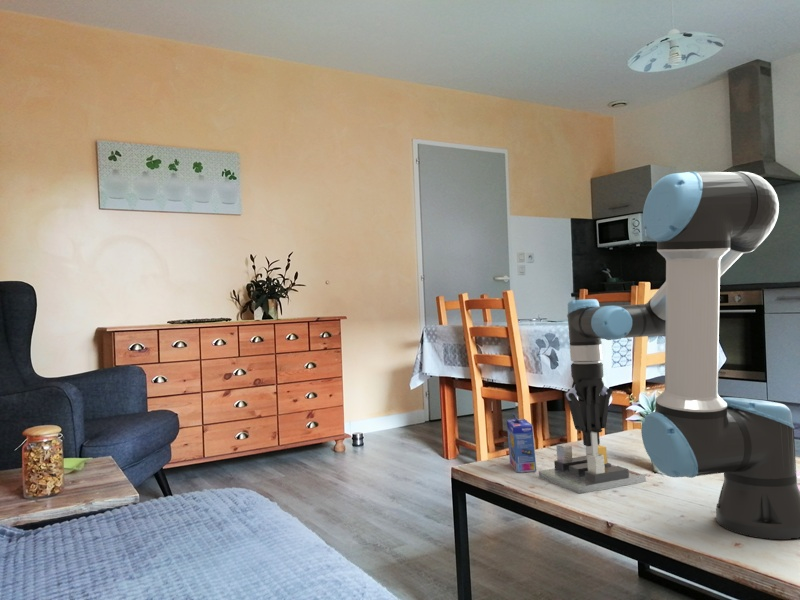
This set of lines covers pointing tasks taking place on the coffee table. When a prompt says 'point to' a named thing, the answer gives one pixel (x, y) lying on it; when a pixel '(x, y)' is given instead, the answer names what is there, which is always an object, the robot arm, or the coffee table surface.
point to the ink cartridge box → (521, 445)
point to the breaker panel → (588, 484)
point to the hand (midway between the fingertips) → (592, 458)
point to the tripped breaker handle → (603, 452)
